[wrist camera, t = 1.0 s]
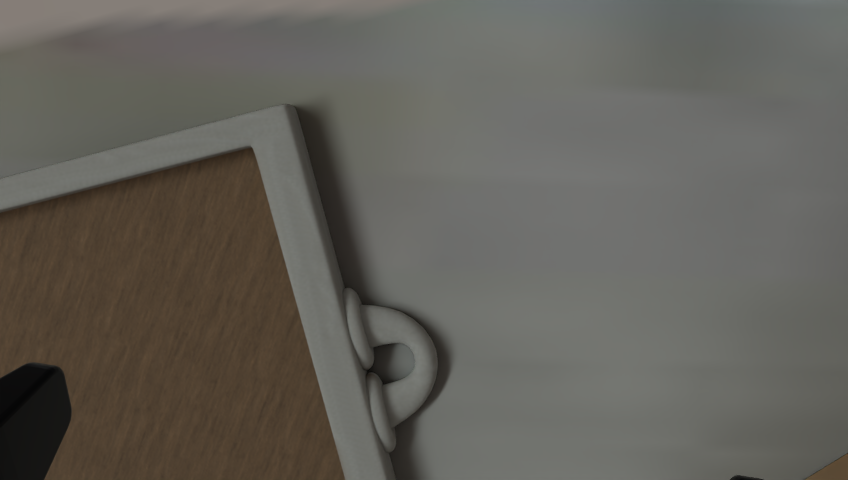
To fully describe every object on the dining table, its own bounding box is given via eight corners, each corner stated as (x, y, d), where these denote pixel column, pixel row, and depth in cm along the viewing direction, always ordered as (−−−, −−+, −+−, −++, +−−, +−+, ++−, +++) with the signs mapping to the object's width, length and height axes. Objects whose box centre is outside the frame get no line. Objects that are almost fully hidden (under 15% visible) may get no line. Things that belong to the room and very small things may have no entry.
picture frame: (-449, 296, 25) (364, 80, 23) (-396, 287, 27) (369, 85, 25) (-263, 774, 27) (502, 615, 25) (-223, 740, 29) (499, 588, 27)
